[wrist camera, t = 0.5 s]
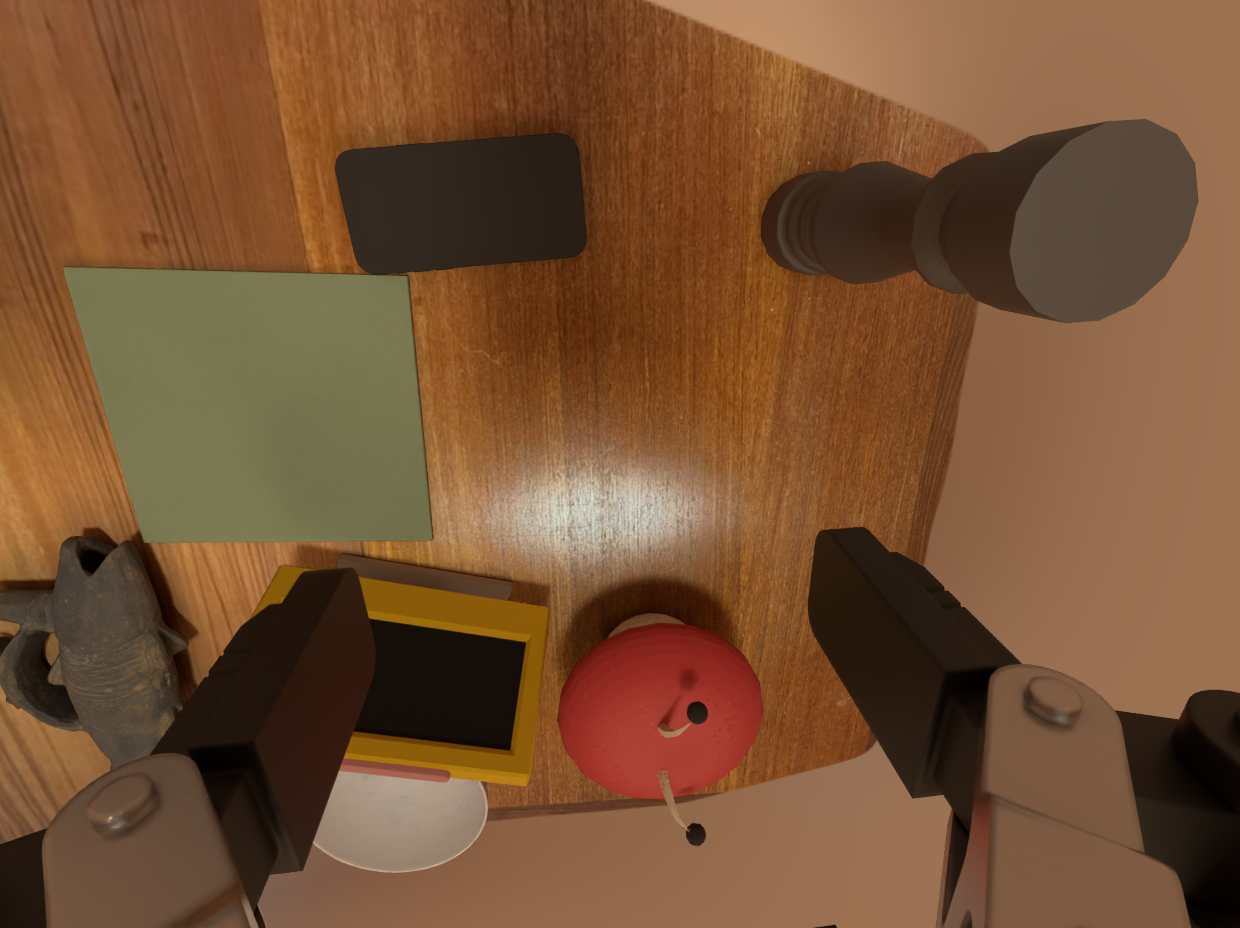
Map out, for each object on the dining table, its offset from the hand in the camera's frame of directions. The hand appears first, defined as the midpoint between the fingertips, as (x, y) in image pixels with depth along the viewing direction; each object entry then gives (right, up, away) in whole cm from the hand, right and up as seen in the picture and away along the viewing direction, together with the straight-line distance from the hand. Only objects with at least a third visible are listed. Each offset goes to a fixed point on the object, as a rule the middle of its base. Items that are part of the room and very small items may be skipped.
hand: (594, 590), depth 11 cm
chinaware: (-18, -22, +45) cm, 53 cm away
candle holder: (+13, +19, +31) cm, 38 cm away
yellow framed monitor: (-16, -9, +40) cm, 44 cm away
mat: (-25, +6, +33) cm, 41 cm away
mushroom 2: (+3, -14, +43) cm, 45 cm away
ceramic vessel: (-42, -14, +39) cm, 59 cm away
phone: (-9, +19, +29) cm, 36 cm away
